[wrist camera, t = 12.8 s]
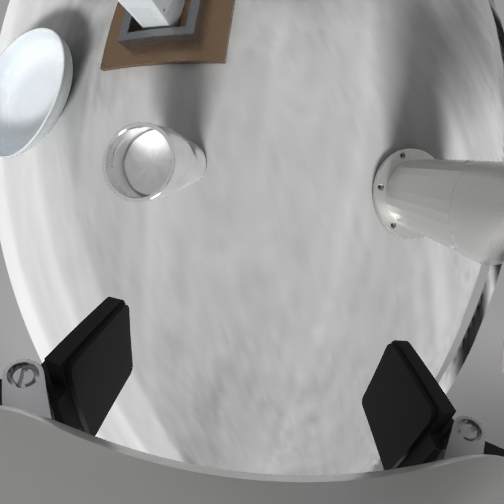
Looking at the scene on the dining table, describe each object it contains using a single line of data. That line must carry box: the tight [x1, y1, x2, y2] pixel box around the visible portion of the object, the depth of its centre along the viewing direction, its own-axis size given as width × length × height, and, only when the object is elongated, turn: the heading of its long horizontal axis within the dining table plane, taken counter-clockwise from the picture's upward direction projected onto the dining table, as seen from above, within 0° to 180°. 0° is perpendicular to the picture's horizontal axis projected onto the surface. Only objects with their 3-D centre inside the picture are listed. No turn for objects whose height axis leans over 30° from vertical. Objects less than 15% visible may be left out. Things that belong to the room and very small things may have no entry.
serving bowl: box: [0, 28, 73, 158], centre depth 29 cm, size 21×21×7 cm
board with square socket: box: [100, 0, 235, 71], centre depth 27 cm, size 18×16×4 cm
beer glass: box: [103, 122, 206, 202], centre depth 28 cm, size 7×7×15 cm
